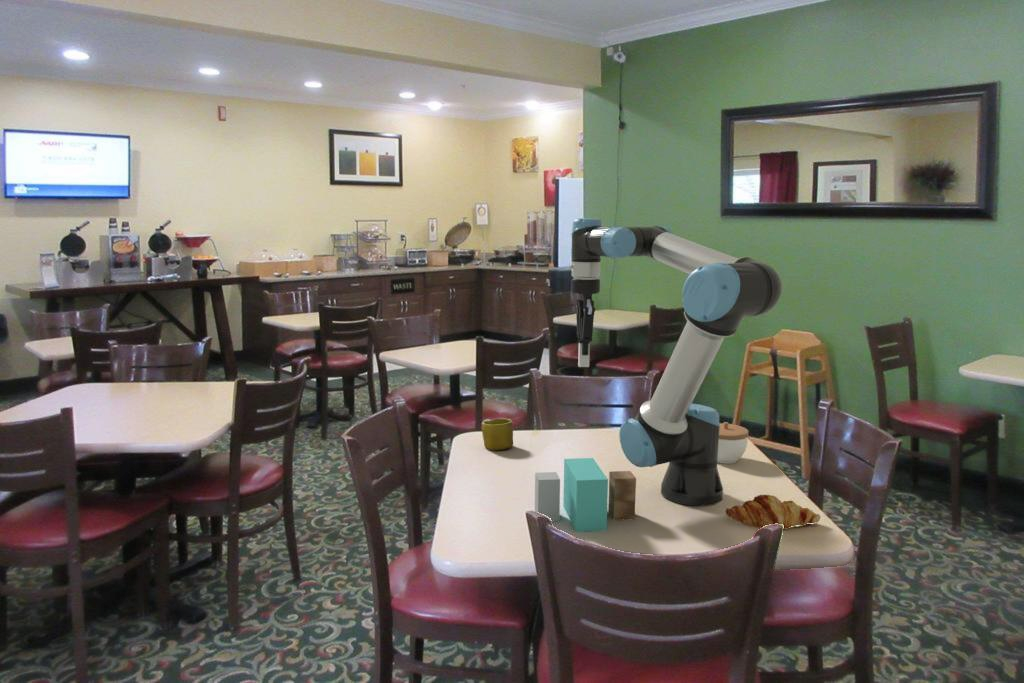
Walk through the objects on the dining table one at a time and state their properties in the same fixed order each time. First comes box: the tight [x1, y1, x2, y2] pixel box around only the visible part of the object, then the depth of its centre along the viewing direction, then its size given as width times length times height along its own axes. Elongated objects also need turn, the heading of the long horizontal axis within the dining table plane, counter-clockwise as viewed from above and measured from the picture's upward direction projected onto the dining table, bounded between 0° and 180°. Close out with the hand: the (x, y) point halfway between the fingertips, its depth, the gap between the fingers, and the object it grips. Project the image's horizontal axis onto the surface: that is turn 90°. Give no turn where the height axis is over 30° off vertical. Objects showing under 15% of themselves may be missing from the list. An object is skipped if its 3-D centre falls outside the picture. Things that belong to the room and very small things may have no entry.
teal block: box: [562, 457, 609, 533], centre depth 178 cm, size 7×15×12 cm, turn 7°
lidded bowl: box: [717, 421, 750, 465], centre depth 220 cm, size 13×13×11 cm
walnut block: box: [607, 470, 637, 521], centre depth 180 cm, size 5×5×10 cm
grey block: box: [534, 471, 561, 522], centre depth 178 cm, size 5×5×10 cm
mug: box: [481, 418, 514, 451], centre depth 232 cm, size 12×10×10 cm
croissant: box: [725, 494, 821, 530], centre depth 176 cm, size 21×10×8 cm, turn 87°
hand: (583, 366), depth 205 cm, fingers closed
